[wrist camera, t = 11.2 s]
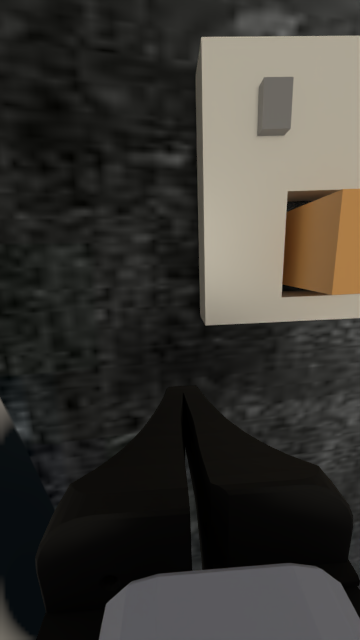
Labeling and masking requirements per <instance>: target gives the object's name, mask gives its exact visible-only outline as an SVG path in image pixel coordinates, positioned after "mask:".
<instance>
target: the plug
mask: <svg viewBox="0 0 360 640" xmlns="http://www.w3.org/2000/svg"><path fill="white" fill-rule="evenodd" d="M282 284H283V285H288V286H292V287H297V288H302V289H306V290H311V291H316V292H320V293H325V294H330V295H342V294H360V189H342V190H340V191H337V192H335V193H332V194H330V195H327V196H325V197H322V198H320V199H318V200H315V201H313V202H310V203H308V204H305V205H303V206H300V207H298V208H295V209H293V210H290V211H288V212H286V228H285V245H284V263H283V280H282Z"/></svg>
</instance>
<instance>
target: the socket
mask: <svg viewBox="0 0 360 640" xmlns="http://www.w3.org/2000/svg"><path fill="white" fill-rule="evenodd" d="M195 79H196V129H197V180H198V231H199V281H200V316H201V318H202V320H203V322H204V323H205V325H224V324H245V323H265V322H286V321H306V320H326V319H347V318H360V294H342V295H330V294H325V293H320V292H316V291H311V290H298V291H282V280H283V263H284V245H285V228H286V211H287V202H289V201H315V200H318V199H320V198H322V197H325V196H327V195H330V194H332V193H335V192H337V191H340V190H342V189H360V36H270V37H201V43H200V50H199V56H198V63H197V70H196V77H195Z"/></svg>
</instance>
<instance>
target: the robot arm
mask: <svg viewBox="0 0 360 640" xmlns="http://www.w3.org/2000/svg"><path fill="white" fill-rule="evenodd" d="M185 447H186V453H187V458H188V463H189V469H190V474H191V479H192V485H193V490H194V495H195V502H196V509H197V519H198V529H199V539H200V549H201V559H202V569H203V570H198V571H192V557H191V529H190V507H189V496H188V485H187V477H186V469H185ZM352 530H353V515H352V512H351V509H350V507H349V505H348V503H347V502H346V500H345V499H344V498H343V496H342V495H341V494H340V492H339V491H338V489H337V488H336V487H335V485H334V484H333V483H332V481H331V480H330V479H329V478H328V477H327V476H326V474H325V473H324V472H323V471H322V470H321V468H320V467H319V466H317V465H314V464H311V463H309V462H306V461H303V460H301V459H298V458H295V457H292V456H290V455H287V454H285V453H283V452H281V451H279V450H277V449H274V448H272V447H270V446H268V445H266V444H264V443H262V442H261V441H259V440H257V439H255V438H254V437H252V436H250V435H249V434H247V433H246V432H244V431H242V430H241V429H240V428H238V427H237V426H236V425H234V424H233V423H231V422H230V421H229V420H228V419H226V418H225V417H224V416H223V415H222V414H221V413H220V412H219V411H218V410H217V409H216V408H215V407H214V406H213V405H212V404H211V403H210V402H209V401H208V400H207V399H206V397H205V396H204V395H203V394H202V392H201V391H200V390H199V389H198V387H197V386H196V385H194V386H176V387H168V388H167V389H166V392H165V395H164V397H163V399H162V401H161V403H160V404H159V406H158V408H157V409H156V411H155V413H154V414H153V415H152V417H151V418H150V420H149V421H148V422H147V424H146V425H145V426H144V428H143V429H142V430H141V431H140V432H139V433H138V434H137V436H136V437H135V438H134V439H133V440H132V441H131V442H130V443H129V444H127V445H126V446H125V447H124V448H123V449H122V450H121V451H120V452H118V453H117V454H116V455H115V456H113V457H112V458H111V459H109V460H108V461H107V462H105V463H104V464H102V465H101V466H99V467H98V468H96V469H95V470H93V471H92V472H90V473H88V474H87V475H85V476H83V477H82V478H80V479H78V480H77V481H75V482H73V483H71V484H70V485H69V487H68V489H67V491H66V493H65V494H64V496H63V498H62V499H61V501H60V503H59V504H58V506H57V508H56V510H55V512H54V514H53V516H52V519H51V521H50V523H49V525H48V527H47V529H46V532H45V534H44V536H43V538H42V540H41V543H40V545H39V548H38V551H37V554H36V557H35V558H36V572H37V576H38V580H39V584H40V589H41V593H42V597H43V601H44V605H45V609H46V613H45V616H44V619H43V622H42V625H41V628H40V631H39V634H38V636H37V639H36V640H360V590H359V588H358V587H357V586H359V584H360V580H359V577H358V575H357V573H356V571H355V570H354V568H353V566H352V565H351V563H350V562H349V560H348V555H349V549H350V543H351V536H352Z"/></svg>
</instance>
